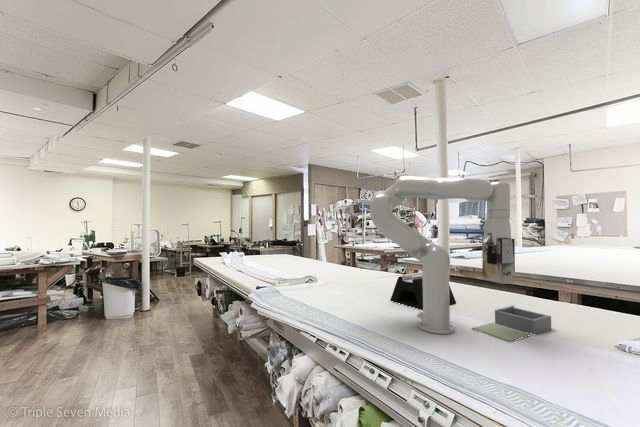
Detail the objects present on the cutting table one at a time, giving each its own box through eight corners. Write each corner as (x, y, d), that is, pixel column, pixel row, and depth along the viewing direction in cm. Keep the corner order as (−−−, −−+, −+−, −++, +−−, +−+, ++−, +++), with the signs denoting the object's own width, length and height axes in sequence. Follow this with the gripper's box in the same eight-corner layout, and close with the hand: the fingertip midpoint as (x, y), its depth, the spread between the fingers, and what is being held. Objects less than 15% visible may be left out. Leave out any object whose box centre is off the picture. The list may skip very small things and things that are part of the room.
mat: (472, 329, 115) (472, 327, 115) (492, 324, 120) (492, 322, 120) (509, 342, 102) (509, 340, 102) (530, 335, 108) (529, 334, 108)
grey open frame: (495, 323, 121) (494, 308, 121) (512, 319, 127) (511, 304, 127) (534, 334, 109) (533, 318, 109) (551, 329, 114) (550, 313, 114)
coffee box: (516, 283, 109) (516, 238, 109) (502, 284, 107) (502, 238, 107) (494, 278, 117) (494, 237, 118) (481, 279, 115) (481, 237, 116)
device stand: (390, 301, 157) (390, 272, 157) (418, 295, 169) (418, 268, 170) (427, 312, 138) (427, 279, 138) (456, 304, 151) (455, 274, 151)
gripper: (502, 215, 120) (502, 261, 120) (473, 214, 112) (473, 263, 111) (522, 215, 114) (522, 263, 113) (493, 214, 105) (493, 266, 105)
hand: (498, 262), depth 112 cm, fingers closed on coffee box, 7 cm apart
